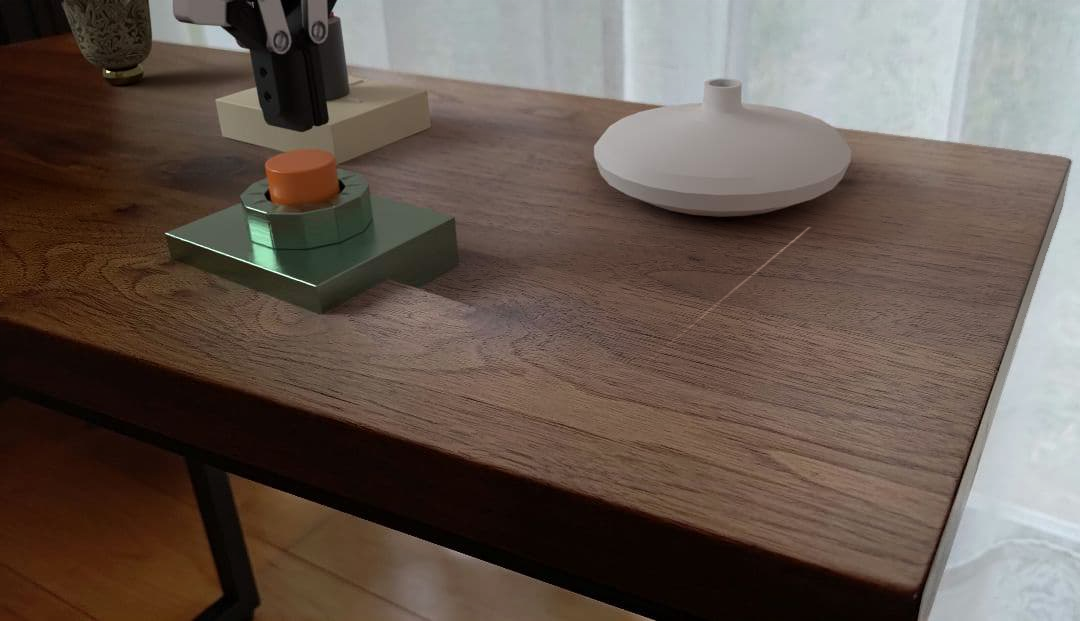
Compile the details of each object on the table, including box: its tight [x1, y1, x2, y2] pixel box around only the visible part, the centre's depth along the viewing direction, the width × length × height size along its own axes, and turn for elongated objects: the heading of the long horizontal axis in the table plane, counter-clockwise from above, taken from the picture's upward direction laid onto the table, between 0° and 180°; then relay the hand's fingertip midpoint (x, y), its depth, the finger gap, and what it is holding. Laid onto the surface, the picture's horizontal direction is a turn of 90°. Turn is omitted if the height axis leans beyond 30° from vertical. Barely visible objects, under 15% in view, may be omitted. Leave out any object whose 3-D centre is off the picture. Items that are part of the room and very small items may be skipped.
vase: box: [593, 77, 852, 218], centre depth 62 cm, size 16×16×7 cm
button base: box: [164, 168, 460, 315], centre depth 54 cm, size 12×10×5 cm
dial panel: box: [215, 75, 432, 166], centre depth 77 cm, size 13×10×3 cm
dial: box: [318, 11, 350, 101], centre depth 75 cm, size 4×4×6 cm
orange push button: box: [264, 149, 340, 205], centre depth 52 cm, size 4×4×2 cm
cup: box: [61, 0, 153, 86], centre depth 92 cm, size 8×7×8 cm
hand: (297, 123), depth 51 cm, fingers closed
